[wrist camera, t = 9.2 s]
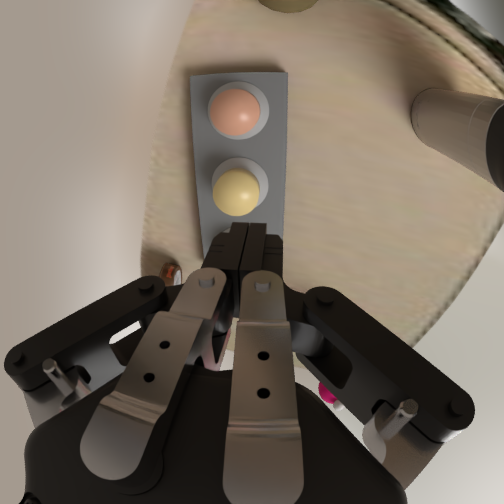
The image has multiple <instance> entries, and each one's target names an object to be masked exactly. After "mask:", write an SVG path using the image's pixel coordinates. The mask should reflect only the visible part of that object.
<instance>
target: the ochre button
mask: <svg viewBox="0 0 504 504" xmlns="http://www.w3.org/2000/svg"><path fill="white" fill-rule="evenodd" d="M259 194H260V184H259V181H258V179H257V178H256V176H255V175H254V174H253V173H252V172H250V171H248V170H246V169H243V168H232V169H229V170H227V171H225V172H224V173H223V174H222V175H221V176H220V177H219V179H218V180H217V182H216V184H215V185H214V188H213V199H214V202H215V204H216V206H217V207H218V208H219V209H220V210H221V211H222V212H224V213H226V214H228V215H231V216H242V215H246V214H248V213H249V212H251V211H252V210H253V209H254V208H255V207H256V205H257V202H258V198H259Z"/></svg>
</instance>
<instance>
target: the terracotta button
mask: <svg viewBox="0 0 504 504" xmlns="http://www.w3.org/2000/svg"><path fill="white" fill-rule="evenodd" d="M260 113H261V109H260V104H259V102H258V100H257V98H256V97H255V96H254V95H253V94H252V93H250V92H248V91H246V90H242V89H230V90H226V91H224V92H222V93H220V94H219V95H218V96H217V97H216V98H215V99H214V100H213V102H212V104H211V108H210V117H211V120H212V122H213V124H214V126H215V127H216V128H217V129H218V130H219V131H221V132H222V133H225V134H227V135H234V136H236V135H242V134H245V133H247V132H248V131H250V130H251V129H252V128H253V127H254V126H255V125H256V123H257V122H258V120H259V117H260Z"/></svg>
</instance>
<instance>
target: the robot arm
mask: <svg viewBox="0 0 504 504" xmlns="http://www.w3.org/2000/svg"><path fill="white" fill-rule="evenodd" d="M411 119H412V125H413V128H414V131H415V133H416V134H417V136H418V138H419V139H420V140H421V141H422V142H423V143H424V144H426V145H427V146H429V147H431V148H433V149H435V150H437V151H438V152H440V153H442V154H444V155H446V156H447V157H449V158H451V159H453V160H454V161H456V162H458V163H460V164H461V165H463V166H465V167H466V168H468V169H470V170H471V171H473V172H474V173H476V174H478V175H479V176H481V177H482V178H484V179H486V180H487V181H489V182H490V183H491V184H493V185H494V186H496V187H497V188H499V189H500V190H502V191H503V192H504V100H502V99H498V98H492V97H488V96H483V95H477V94H472V93H466V92H459V91H452V90H444V89H434V88H432V89H427V90H425V91H423V92H421V93H420V94H419V95H418V96H417V98H416V99H415V101H414V103H413V106H412V111H411ZM282 273H283V240H282V239H281V238H280V236H279V235H277V234H267V223H253V222H250V223H249V222H232V225H231V228H230V231H229V233H227V232H220V233H219V234H218V235H217V236H215V237H214V238H213V240H212V242H211V246H210V247H209V250H208V252H207V254H206V257H205V259H204V262H203V264H202V266H201V269H198V270H196V271H194V272H192V273H191V274H190V275H189V277H188V278H187V280H186V282H185V283H184V284H180V285H173V286H165V282H164V280H163V279H161V278H160V277H157V276H144V277H141V278H139V279H137V280H135V281H133V282H131V283H129V284H127V285H125V286H123V287H122V288H119V289H118V290H116V291H114V292H112V293H110V294H108V295H106V296H104V297H102V298H101V299H99V300H97V301H95V302H93V303H91V304H89V305H88V306H86V307H84V308H82V309H80V310H78V311H77V312H75V313H73V314H71V315H69V316H67V317H66V318H64V319H62V320H60V321H58V322H57V323H55V324H53V325H51V326H50V327H48V328H46V329H44V330H42V331H41V332H39V333H37V334H35V335H34V336H32V337H30V338H28V339H27V340H25V341H23V342H22V343H20V344H18V345H16V346H15V347H13V348H12V349H11V350H10V351H9V352H8V354H7V355H6V358H5V362H4V368H5V371H6V372H7V374H8V375H9V376H10V377H11V378H12V379H13V380H14V381H15V382H16V383H17V385H18V386H19V388H20V389H21V390H22V391H23V393H24V396H25V400H26V403H27V406H28V409H29V413H30V415H31V418H32V421H33V424H34V427H35V429H34V430H33V431H32V433H31V434H30V436H29V438H28V440H27V442H26V446H25V452H24V458H25V471H26V485H25V493H24V497H23V499H22V500H21V502H20V503H19V504H407V497H406V493H405V491H404V490H405V489H406V488H407V487H408V486H409V485H410V484H411V483H412V482H413V481H414V479H415V478H416V477H417V476H418V475H419V474H420V473H421V471H422V470H423V469H424V468H425V467H426V465H427V464H428V463H429V462H430V460H431V459H432V458H433V457H434V456H435V454H436V453H437V452H438V450H439V449H440V448H441V446H442V445H444V444H445V443H447V442H448V441H449V440H451V439H452V438H454V437H455V436H456V435H458V434H459V433H460V432H462V431H463V430H464V429H465V428H467V427H468V426H469V425H470V424H471V422H472V421H473V418H474V414H475V406H474V403H473V400H472V398H471V397H470V395H469V394H468V393H467V392H466V391H464V390H463V389H462V388H460V386H458V385H457V384H456V383H454V382H453V381H452V380H451V379H450V378H449V377H447V376H446V375H445V374H443V373H442V372H441V371H440V370H439V369H437V368H436V367H435V366H434V365H432V364H431V363H430V362H429V361H427V360H426V359H425V358H424V357H422V356H421V355H420V354H419V353H417V352H416V351H415V350H414V349H412V348H411V347H410V346H409V345H407V344H406V343H405V342H404V341H402V340H401V339H400V338H398V337H397V336H396V335H395V334H393V333H392V332H391V331H390V330H388V329H387V328H386V327H384V326H383V325H382V324H381V323H379V322H378V321H377V320H375V319H374V318H373V317H372V316H370V315H369V314H368V313H366V312H365V311H364V310H362V309H361V308H360V307H359V306H357V305H356V304H355V303H353V302H352V301H351V300H349V299H348V298H347V297H346V296H344V295H343V294H342V293H340V292H339V291H337V290H335V289H333V288H330V287H324V286H320V287H315V288H312V289H310V290H308V291H307V292H306V294H304V293H300V292H297V291H294V290H292V289H290V288H289V287H288V286H287V285H286V284H285V283H284V281H283V277H282ZM233 317H235V318H239V321H237V326H236V338H235V350H234V362H233V369H232V370H223V371H219V370H220V367H221V363H222V360H223V357H224V354H225V350H226V347H227V344H228V341H229V337H230V334H231V324H232V319H233ZM137 321H139V323H140V326H141V328H140V329H138V330H136V331H134V332H133V333H131V334H129V335H128V336H126V337H124V338H122V339H121V340H119V341H117V342H116V343H113V344H109V341H110V338H111V337H112V336H113V335H114V334H116V333H118V332H119V331H121V330H123V329H125V328H126V327H128V326H130V325H132V324H133V323H135V322H137ZM292 351H293V352H296V356H297V358H298V359H299V361H300V362H301V363H302V364H303V365H304V366H305V367H306V368H307V369H308V370H309V371H310V372H311V373H312V374H313V375H314V376H315V377H316V378H317V379H318V380H319V381H320V382H321V383H322V384H323V385H324V386H325V387H326V388H327V389H328V390H329V391H330V392H331V393H332V394H333V395H334V396H335V397H336V398H337V399H338V400H339V401H340V402H341V403H342V404H343V405H344V406H345V407H346V408H347V409H348V410H349V411H350V412H351V413H352V414H353V415H354V416H355V417H356V418H357V419H358V420H359V421H360V422H362V423H363V424H364V425H365V426H364V428H363V434H362V436H363V441H364V443H365V445H366V446H367V447H368V449H369V450H370V452H371V453H370V452H369V451H368V450H367V449H366V448H365V447H364V446H363V445H362V443H360V441H359V440H358V439H357V438H356V437H355V436H354V435H353V434H352V433H351V432H350V431H349V430H348V429H347V428H346V426H345V425H344V424H343V423H342V422H341V421H340V420H339V419H338V418H337V417H336V416H335V415H334V413H333V412H332V411H331V410H330V409H329V408H328V407H327V406H326V405H325V404H324V402H323V401H322V400H321V399H320V398H319V397H318V396H317V395H316V394H315V393H313V392H312V391H311V390H309V389H308V388H306V387H304V386H303V385H301V384H298V383H296V382H295V375H294V364H293V352H292Z"/></svg>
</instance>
